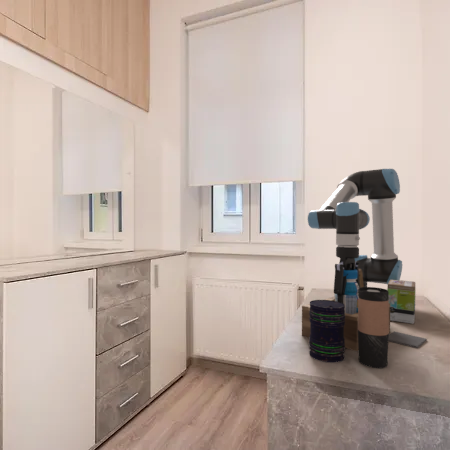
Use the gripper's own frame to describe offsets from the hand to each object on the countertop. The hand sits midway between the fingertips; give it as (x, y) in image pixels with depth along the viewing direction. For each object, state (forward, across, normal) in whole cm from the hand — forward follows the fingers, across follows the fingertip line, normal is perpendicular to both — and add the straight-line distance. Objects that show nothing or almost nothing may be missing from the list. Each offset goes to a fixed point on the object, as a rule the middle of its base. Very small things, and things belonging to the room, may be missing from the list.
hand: (347, 311), depth 111 cm
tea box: (+8, +36, -6) cm, 37 cm away
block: (+8, +22, +8) cm, 24 cm away
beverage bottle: (+5, 0, 0) cm, 5 cm away
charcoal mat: (+8, +8, -16) cm, 19 cm away
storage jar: (+8, -23, -5) cm, 25 cm away
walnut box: (+8, 0, 0) cm, 8 cm away
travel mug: (+8, -18, -16) cm, 26 cm away
